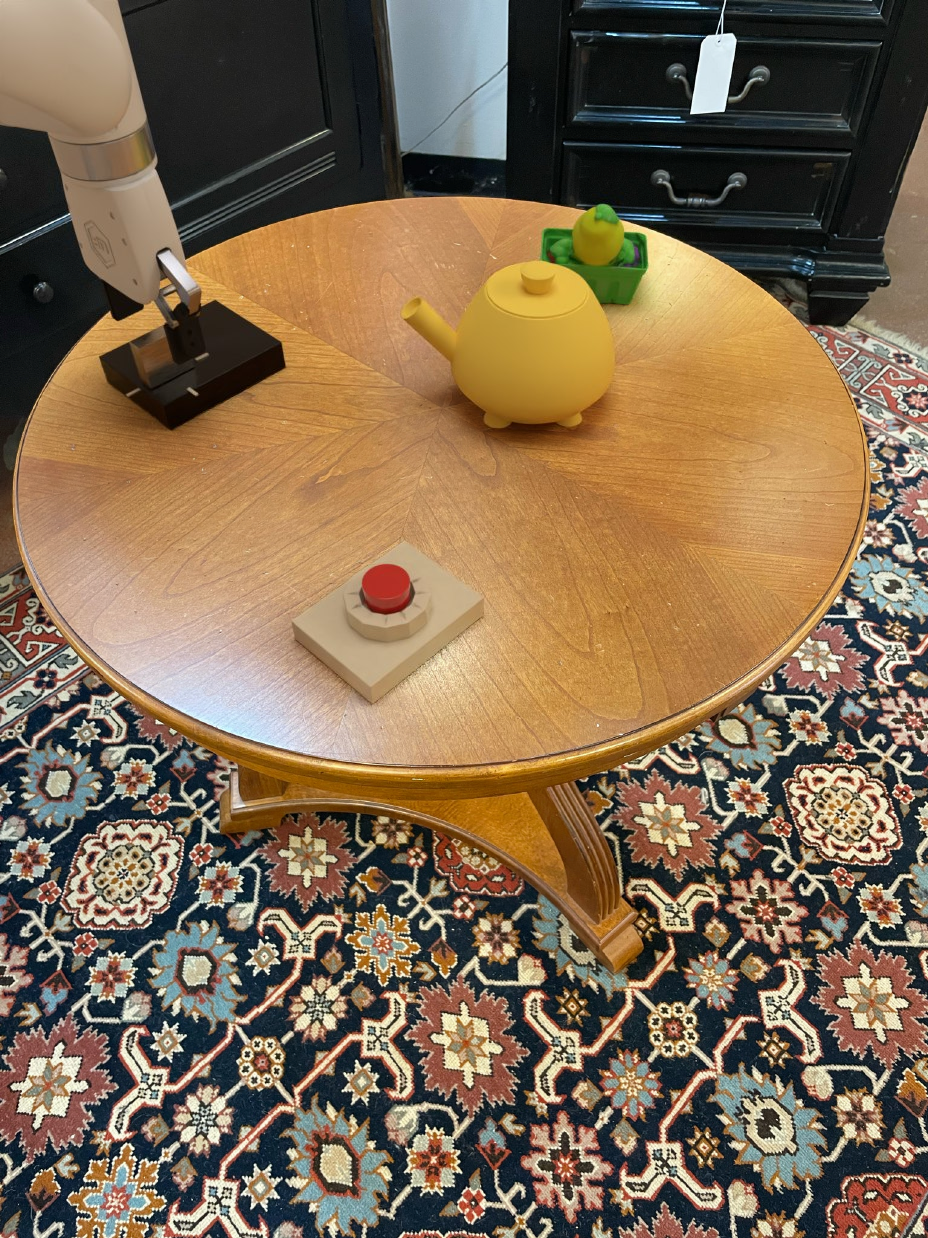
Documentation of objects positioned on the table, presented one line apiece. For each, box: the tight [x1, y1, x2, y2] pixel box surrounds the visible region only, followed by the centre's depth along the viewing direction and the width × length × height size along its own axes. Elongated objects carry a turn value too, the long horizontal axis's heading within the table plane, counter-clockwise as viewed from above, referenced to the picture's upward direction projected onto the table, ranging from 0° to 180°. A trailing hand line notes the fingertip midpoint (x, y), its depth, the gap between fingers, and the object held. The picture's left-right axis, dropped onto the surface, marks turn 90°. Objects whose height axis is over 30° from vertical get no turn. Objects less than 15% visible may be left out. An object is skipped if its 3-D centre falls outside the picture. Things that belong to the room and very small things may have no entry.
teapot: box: [400, 260, 616, 429], centre depth 89 cm, size 20×16×14 cm
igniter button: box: [362, 564, 411, 614], centre depth 72 cm, size 4×4×2 cm
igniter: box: [291, 540, 485, 705], centre depth 74 cm, size 12×9×4 cm
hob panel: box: [98, 299, 287, 431], centre depth 94 cm, size 16×12×3 cm
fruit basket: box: [539, 203, 649, 305], centre depth 101 cm, size 11×9×11 cm
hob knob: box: [128, 321, 194, 389], centre depth 89 cm, size 5×2×5 cm, turn 136°
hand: (159, 335), depth 88 cm, fingers open, 9 cm apart
